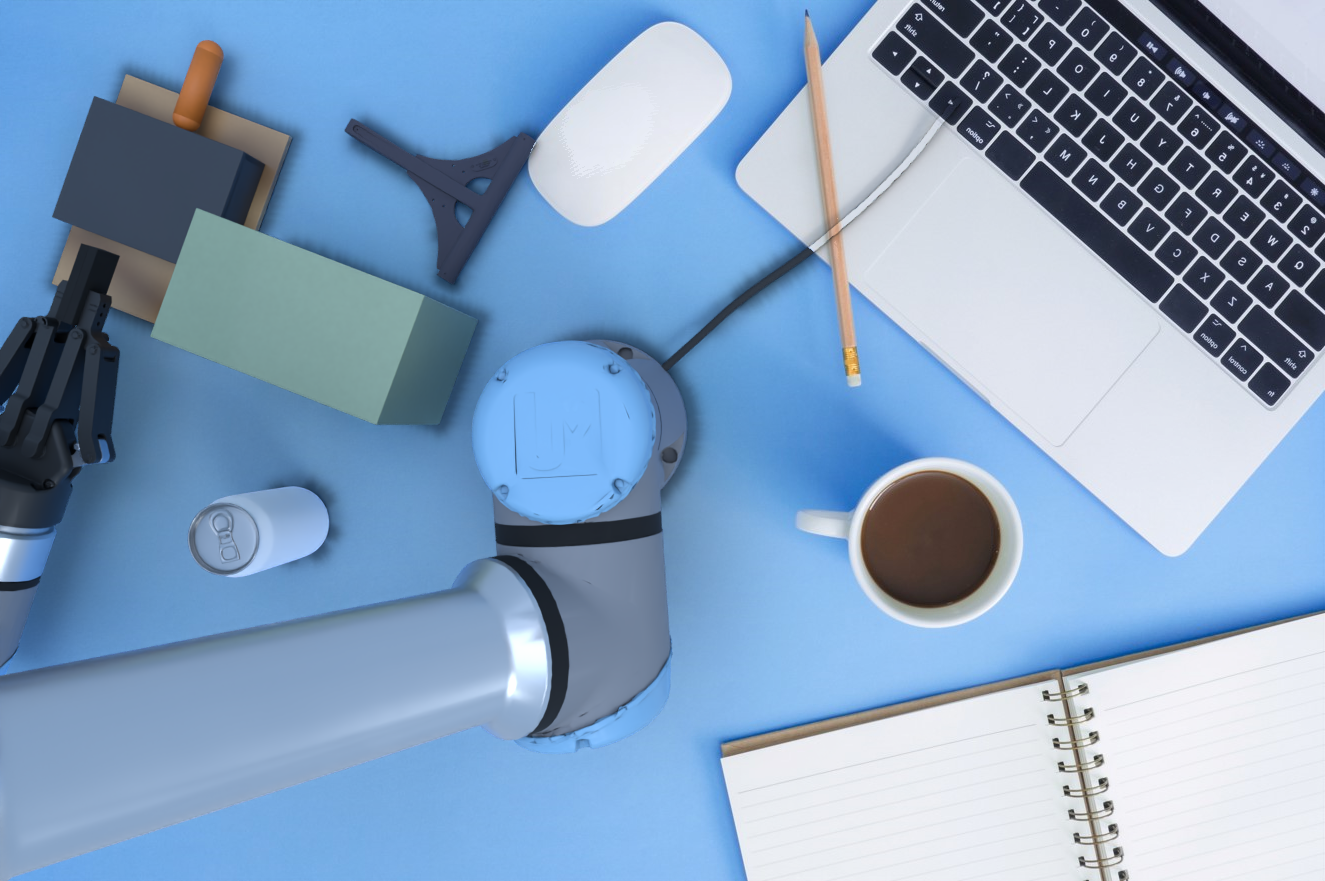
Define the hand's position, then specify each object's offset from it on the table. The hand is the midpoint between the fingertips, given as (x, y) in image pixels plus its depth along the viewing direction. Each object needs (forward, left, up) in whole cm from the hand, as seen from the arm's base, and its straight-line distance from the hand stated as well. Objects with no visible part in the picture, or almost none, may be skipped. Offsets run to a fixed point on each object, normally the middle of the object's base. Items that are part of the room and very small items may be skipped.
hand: (100, 249), depth 72 cm
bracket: (-26, +3, -7) cm, 27 cm away
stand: (-15, +14, -7) cm, 22 cm away
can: (-3, +26, -7) cm, 27 cm away
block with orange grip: (-1, -1, -5) cm, 5 cm away
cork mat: (-4, -4, -7) cm, 9 cm away
